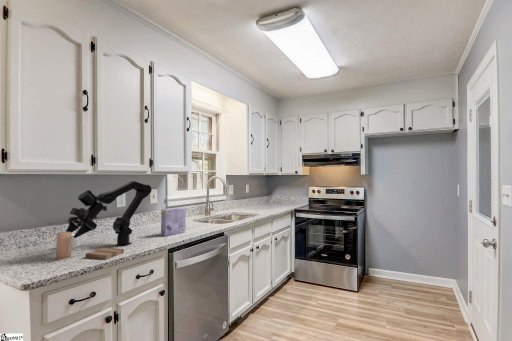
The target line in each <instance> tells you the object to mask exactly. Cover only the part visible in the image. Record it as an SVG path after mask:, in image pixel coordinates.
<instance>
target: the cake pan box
mask: <svg viewBox="0 0 512 341" xmlns="http://www.w3.org/2000/svg"><path fill="white" fill-rule="evenodd" d="M186 209H187V208H186V207H179V208H177V207H176V208H166V209H165V208H164V209H161V210H160V211H161V212H160V221H161V222H160V235H161V236H163V237H167V236H168V235H169V236H174V235H179V234H184V233H183V232H185V233H186ZM178 233H179V234H178ZM173 234H174V235H173ZM169 236H168V237H169Z"/></svg>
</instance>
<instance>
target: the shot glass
mask: <svg viewBox="0 0 512 341" xmlns="http://www.w3.org/2000/svg"><path fill="white" fill-rule="evenodd" d="M75 234H76V233H71V249H76V248H78V247H79V240H80V236H78V237H76V238H74V237H73V236H74V235H75Z"/></svg>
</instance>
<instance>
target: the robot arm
mask: <svg viewBox="0 0 512 341" xmlns="http://www.w3.org/2000/svg"><path fill="white" fill-rule="evenodd" d="M132 190H135V195H134V197H133V199H132V200H131V202H130V204H129V205H128V207H127V208H126V210H125V211H124V213H123V215H122V216H120V217H119V216H116V218H115V220H114V221H113V222H112V224H113V225H112V230H113V231H114V233H115V234H117V238H116V243H115V244H114V246H121V247H126V246H128V245H131V244H132V242H130V235H132V234H133V230H132V228H130V225H131V218H132V217H133V216H134V214H135V213H136V211H137V209H138V208H139V206H140V205H141V204H142V202H143V201H144V199H145V198H147V197H148V196H149V195H150V194H151V193H152V186H151V185H149V184H144V183H141V182H137V181H135V180H131V181H129V182H127V183H125V184H124V185H121V186H119V187H118V188H115V189H112V190H109V191H105V192H102V193H100V194H98V195H95V194H94V193H93V192H92V191H91V190H89V189H88V190H87V189H86V191H84V192H82V193H80V194H79V195H78V197H77V200H78V201H79V202H80V203H82V204H83V205H84V206H85V207H87V209H85V208H83V207H80V208H77V207H72V208H71V210H70V212H69V215H72V216H70V217H69V218H67V222H68V227H67V228H66V230H65V232H71V234H73V233H74V231H76V232H75V233H74V234H75V235H74V236H73V237H74V238H76V237H78V236H79V237H81V236H83V235H84V234H86V233H89V232H92V231H95V230H96V228H97V227H98V225H97V223H96V222H95V221H94V220H97V218H98V215H99V214H100V213H101V212H102V211H103V212H107V210H108V208H107V206H106V205H109V204H111V203H113V202H114V201H115V200H117V198H118V197H120V196H122V195H124V194H126V193H128V192H129V191H132ZM104 204H105V205H104Z"/></svg>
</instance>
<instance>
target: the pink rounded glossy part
mask: <svg viewBox="0 0 512 341" xmlns="http://www.w3.org/2000/svg"><path fill="white" fill-rule="evenodd" d="M71 234H72V233H71V232H66V231H60V232H57V233H56V241H55V242H56V244H55V245H56V246H55V247H56V248H55V259H57V260H64V259H69V258H71V257H72V248H71Z"/></svg>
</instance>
